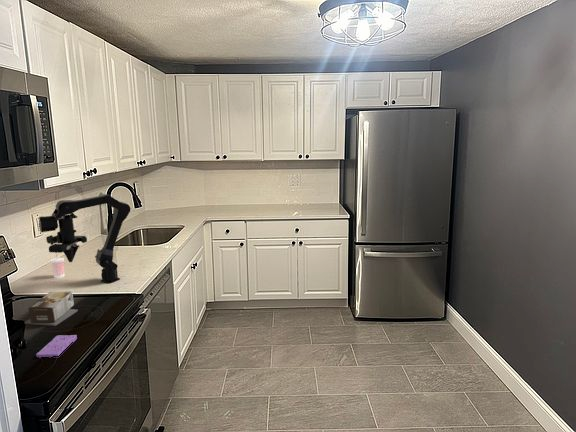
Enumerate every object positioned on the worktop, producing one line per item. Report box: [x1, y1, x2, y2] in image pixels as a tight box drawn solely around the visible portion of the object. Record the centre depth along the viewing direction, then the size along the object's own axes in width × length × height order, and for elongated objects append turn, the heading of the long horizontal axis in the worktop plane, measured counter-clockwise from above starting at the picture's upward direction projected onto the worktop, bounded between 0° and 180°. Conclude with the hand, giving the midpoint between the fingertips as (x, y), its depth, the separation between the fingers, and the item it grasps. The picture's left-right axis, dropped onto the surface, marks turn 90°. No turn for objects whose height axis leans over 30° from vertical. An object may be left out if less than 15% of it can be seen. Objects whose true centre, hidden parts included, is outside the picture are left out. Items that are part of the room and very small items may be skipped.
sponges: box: [36, 334, 78, 359], centre depth 140 cm, size 7×13×2 cm, turn 0°
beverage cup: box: [50, 253, 66, 279], centre depth 207 cm, size 6×6×14 cm
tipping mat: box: [24, 308, 78, 327], centre depth 163 cm, size 13×13×1 cm
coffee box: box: [28, 290, 75, 323], centre depth 164 cm, size 9×6×16 cm
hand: (70, 261), depth 189 cm, fingers closed
